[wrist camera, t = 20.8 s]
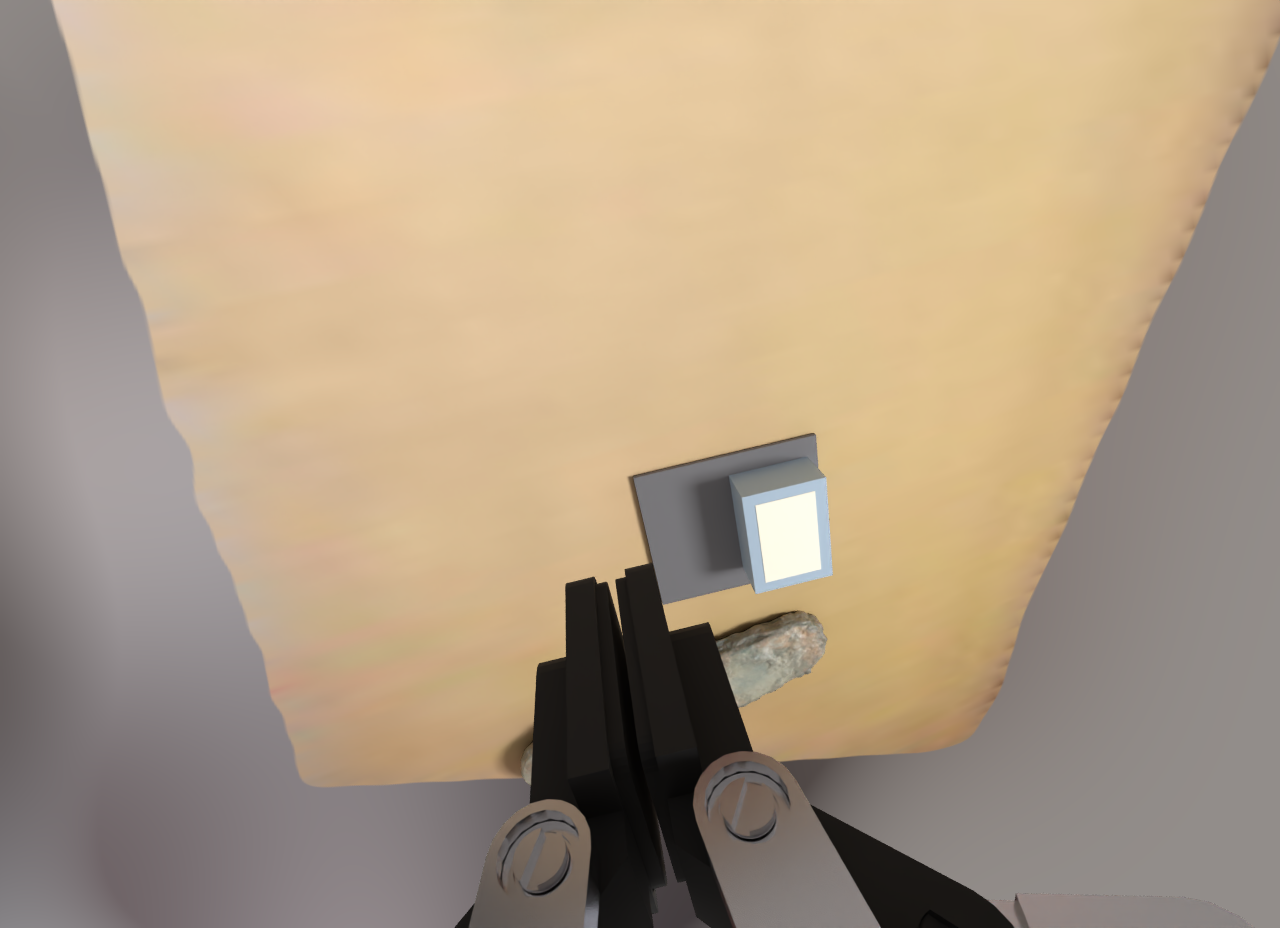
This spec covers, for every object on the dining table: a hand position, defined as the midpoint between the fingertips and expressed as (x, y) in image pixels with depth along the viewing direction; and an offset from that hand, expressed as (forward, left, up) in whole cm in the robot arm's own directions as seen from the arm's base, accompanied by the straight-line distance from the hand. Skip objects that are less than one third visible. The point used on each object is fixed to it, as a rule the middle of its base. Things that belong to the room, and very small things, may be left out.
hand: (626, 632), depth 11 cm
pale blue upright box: (+22, +9, -33) cm, 40 cm away
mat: (+22, +9, -35) cm, 42 cm away
